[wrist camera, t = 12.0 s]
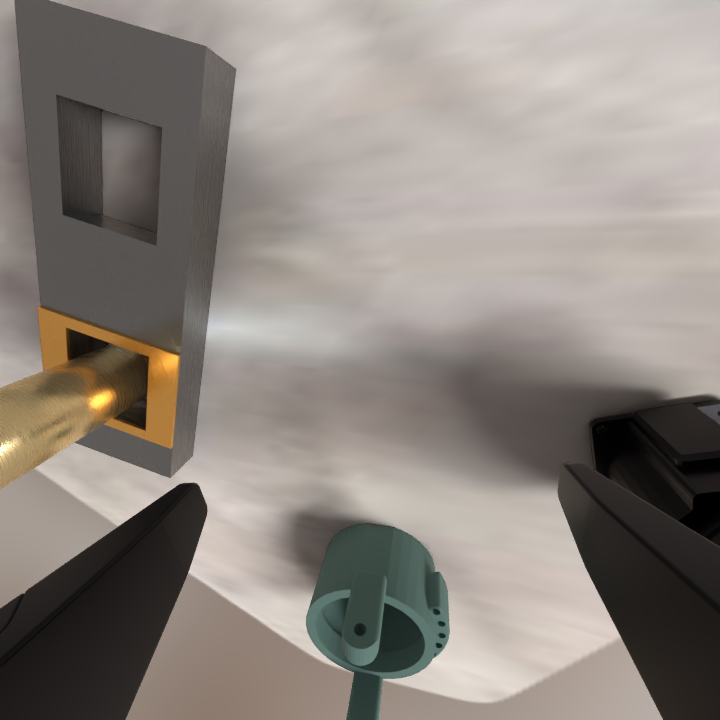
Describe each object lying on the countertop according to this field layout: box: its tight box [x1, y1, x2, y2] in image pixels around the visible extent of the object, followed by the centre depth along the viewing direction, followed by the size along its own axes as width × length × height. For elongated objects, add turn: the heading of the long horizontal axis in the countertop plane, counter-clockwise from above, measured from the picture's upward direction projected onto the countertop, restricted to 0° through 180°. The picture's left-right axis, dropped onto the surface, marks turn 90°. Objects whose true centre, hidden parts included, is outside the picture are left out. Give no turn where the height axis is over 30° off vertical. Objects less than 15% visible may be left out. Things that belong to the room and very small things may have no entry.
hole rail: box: [15, 0, 236, 478], centre depth 21 cm, size 24×9×3 cm, turn 164°
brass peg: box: [0, 344, 149, 489], centre depth 19 cm, size 4×4×13 cm
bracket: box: [306, 523, 450, 720], centre depth 23 cm, size 9×9×9 cm
